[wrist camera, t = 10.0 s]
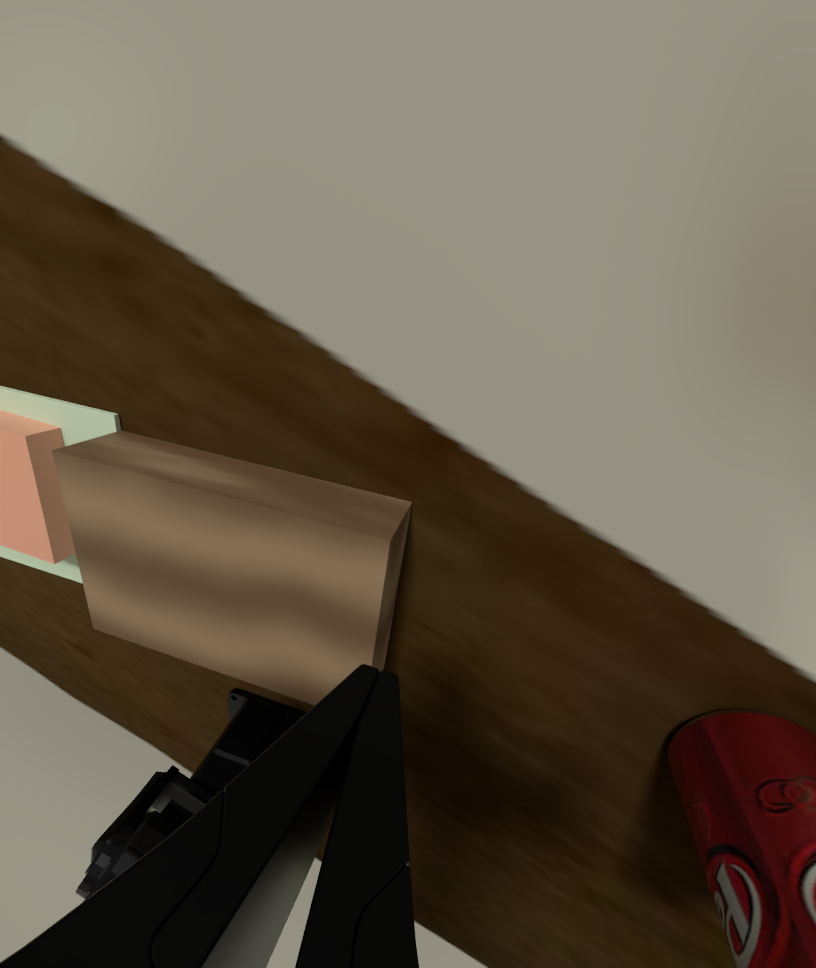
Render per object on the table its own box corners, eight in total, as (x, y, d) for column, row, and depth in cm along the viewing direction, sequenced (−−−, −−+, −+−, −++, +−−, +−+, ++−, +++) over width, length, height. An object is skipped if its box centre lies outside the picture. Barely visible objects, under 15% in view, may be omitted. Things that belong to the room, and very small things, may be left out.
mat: (147, 601, 29) (144, 603, 29) (-5, 551, 32) (-9, 553, 31) (118, 413, 24) (114, 415, 23) (-66, 370, 26) (-72, 370, 26)
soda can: (714, 810, 24) (877, 1216, 13) (634, 731, 23) (736, 1093, 12) (855, 774, 21) (1222, 1269, 10) (768, 681, 20) (1061, 1107, 9)
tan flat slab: (384, 666, 26) (363, 722, 22) (146, 590, 29) (93, 628, 25) (412, 502, 21) (390, 540, 17) (121, 430, 24) (51, 450, 20)
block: (-18, 538, 28) (15, 525, 29) (54, 564, 27) (83, 548, 28) (-58, 411, 24) (-18, 404, 26) (25, 436, 23) (60, 427, 25)
